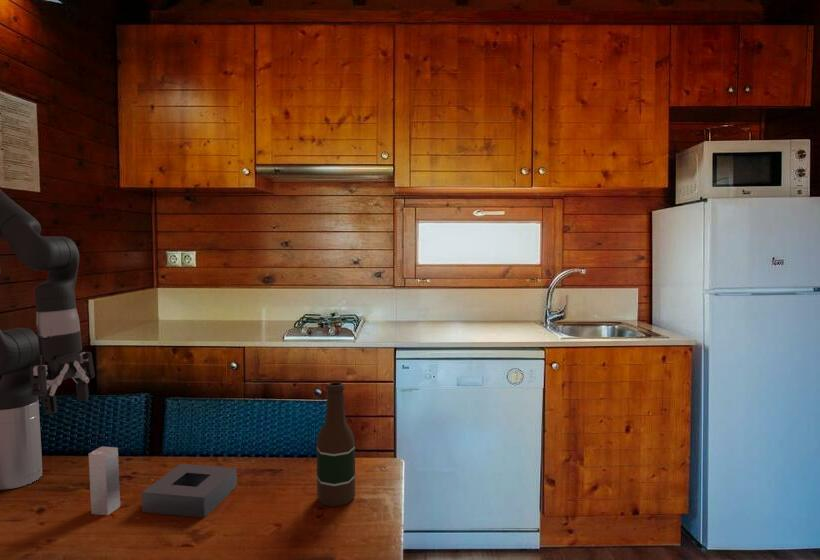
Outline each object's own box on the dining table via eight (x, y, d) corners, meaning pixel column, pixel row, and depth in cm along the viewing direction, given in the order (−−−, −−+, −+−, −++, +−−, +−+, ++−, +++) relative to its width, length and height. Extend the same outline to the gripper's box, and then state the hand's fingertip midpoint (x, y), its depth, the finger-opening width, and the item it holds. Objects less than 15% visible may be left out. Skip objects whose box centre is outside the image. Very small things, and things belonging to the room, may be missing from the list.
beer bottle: (309, 498, 110) (307, 383, 108) (338, 485, 115) (338, 376, 113) (333, 512, 105) (332, 391, 102) (363, 497, 110) (362, 383, 108)
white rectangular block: (91, 513, 103) (88, 453, 102) (104, 504, 107) (101, 446, 106) (107, 515, 103) (105, 454, 102) (120, 506, 106) (117, 447, 105)
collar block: (142, 511, 104) (141, 492, 104) (181, 481, 117) (180, 463, 117) (204, 517, 102) (203, 497, 102) (236, 486, 115) (236, 468, 115)
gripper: (69, 326, 120) (77, 397, 121) (13, 338, 106) (23, 418, 107) (99, 325, 119) (107, 396, 120) (47, 337, 105) (56, 418, 106)
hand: (67, 406), depth 114 cm, fingers open, 8 cm apart
